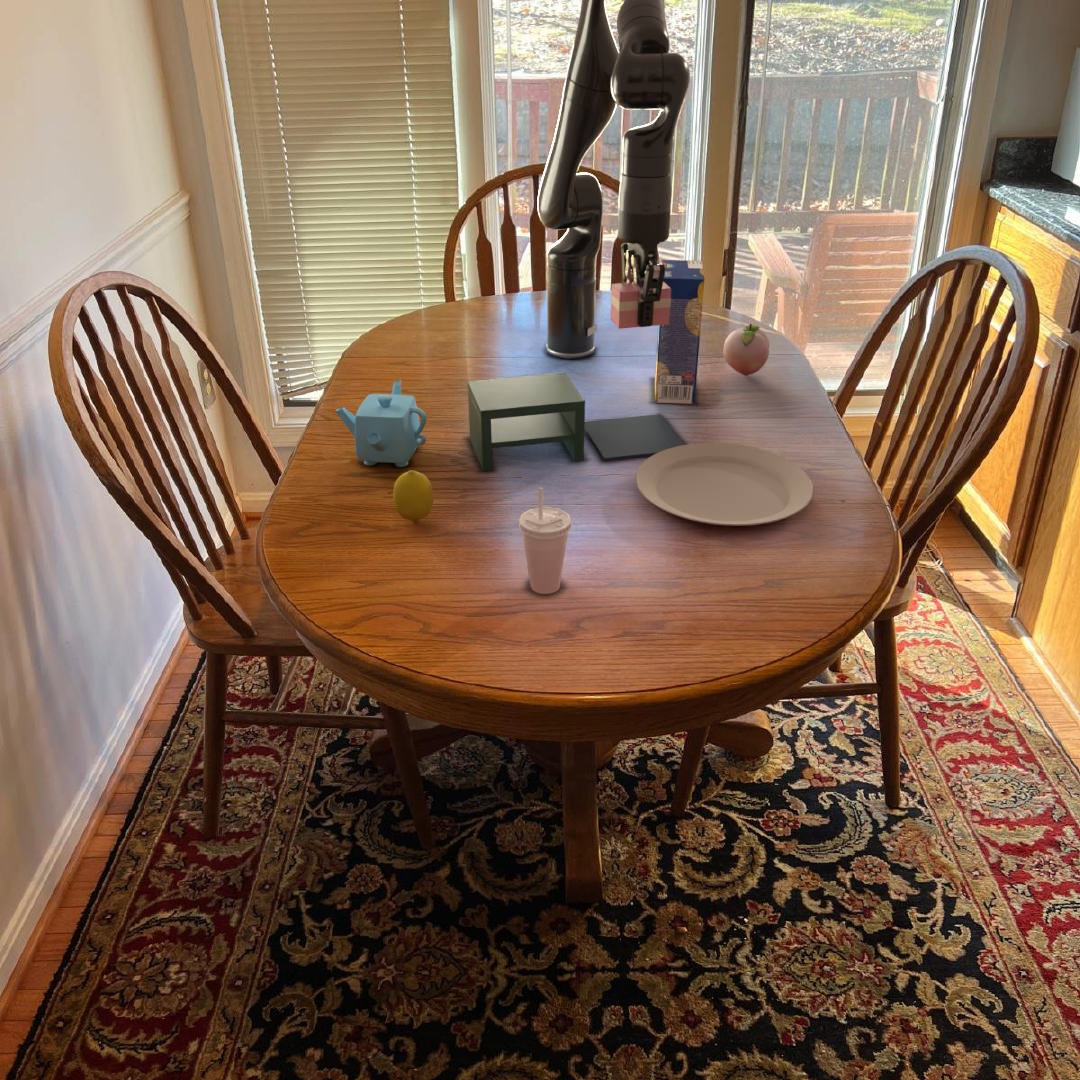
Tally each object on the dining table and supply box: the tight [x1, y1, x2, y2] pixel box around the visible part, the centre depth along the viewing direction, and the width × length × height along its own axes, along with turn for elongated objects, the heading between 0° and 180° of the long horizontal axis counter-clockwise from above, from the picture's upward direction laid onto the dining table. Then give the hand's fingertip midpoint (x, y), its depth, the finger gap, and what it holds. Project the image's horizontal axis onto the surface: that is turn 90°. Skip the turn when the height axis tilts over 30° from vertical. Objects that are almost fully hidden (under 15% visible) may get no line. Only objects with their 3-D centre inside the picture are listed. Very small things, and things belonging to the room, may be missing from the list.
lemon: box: [392, 469, 435, 523], centre depth 139 cm, size 6×6×8 cm
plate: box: [635, 442, 814, 527], centre depth 148 cm, size 26×26×2 cm
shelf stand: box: [467, 371, 586, 472], centre depth 159 cm, size 12×16×10 cm
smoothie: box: [518, 486, 572, 595], centre depth 124 cm, size 6×6×14 cm
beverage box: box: [654, 259, 706, 405], centre depth 176 cm, size 7×11×22 cm, turn 175°
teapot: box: [335, 379, 427, 468], centre depth 157 cm, size 18×14×10 cm
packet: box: [610, 282, 671, 330], centre depth 153 cm, size 4×8×6 cm, turn 103°
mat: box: [584, 413, 686, 462], centre depth 165 cm, size 14×14×1 cm
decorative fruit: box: [722, 323, 770, 377], centre depth 185 cm, size 9×8×10 cm
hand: (639, 320), depth 154 cm, fingers closed on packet, 4 cm apart
